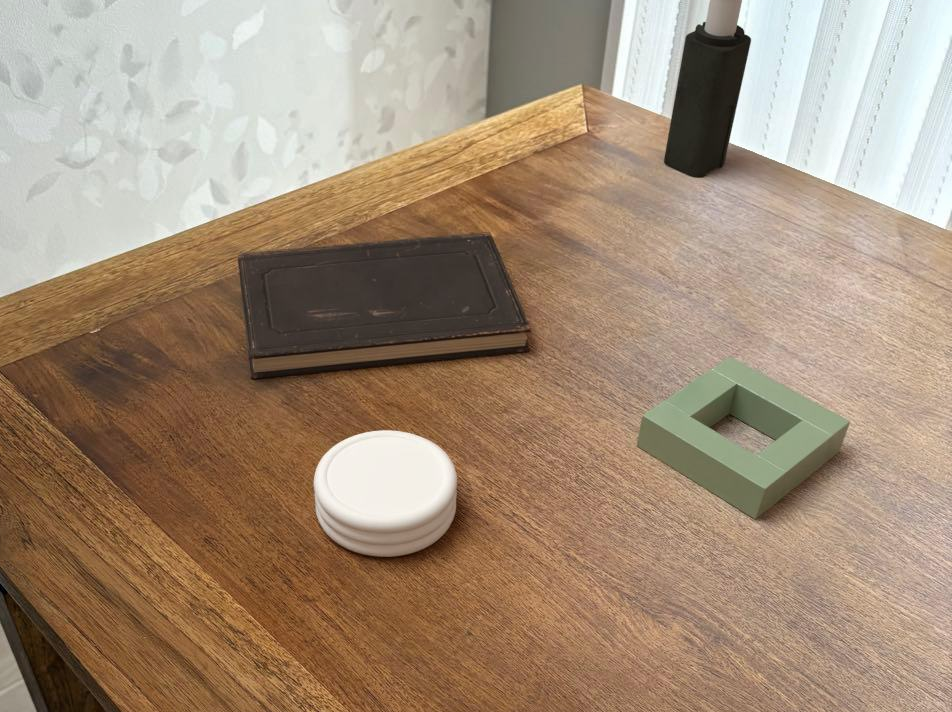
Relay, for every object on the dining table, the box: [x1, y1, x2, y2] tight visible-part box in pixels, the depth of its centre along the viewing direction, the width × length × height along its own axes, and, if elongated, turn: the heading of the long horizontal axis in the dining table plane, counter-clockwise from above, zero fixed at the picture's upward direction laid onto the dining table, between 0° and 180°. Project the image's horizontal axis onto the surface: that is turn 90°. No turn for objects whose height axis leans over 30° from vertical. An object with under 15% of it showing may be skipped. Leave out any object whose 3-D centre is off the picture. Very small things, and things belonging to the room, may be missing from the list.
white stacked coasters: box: [312, 429, 458, 558], centre depth 78 cm, size 10×10×4 cm
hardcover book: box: [236, 231, 532, 380], centre depth 96 cm, size 16×23×2 cm
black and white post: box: [663, 0, 752, 178], centre depth 106 cm, size 5×5×25 cm
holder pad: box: [636, 356, 851, 520], centre depth 83 cm, size 11×11×3 cm
